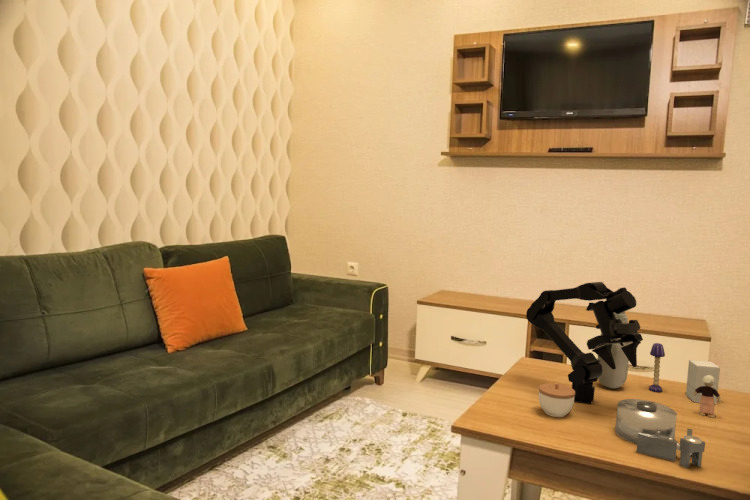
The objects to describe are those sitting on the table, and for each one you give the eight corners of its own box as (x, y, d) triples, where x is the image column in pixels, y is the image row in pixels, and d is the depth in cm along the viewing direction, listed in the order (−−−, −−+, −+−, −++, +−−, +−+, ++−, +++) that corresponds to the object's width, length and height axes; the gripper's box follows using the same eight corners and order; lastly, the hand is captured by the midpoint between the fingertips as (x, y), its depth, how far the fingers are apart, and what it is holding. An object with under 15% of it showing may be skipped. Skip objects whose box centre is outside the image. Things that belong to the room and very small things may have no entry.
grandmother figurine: (718, 414, 174) (722, 375, 172) (720, 419, 170) (724, 379, 169) (690, 410, 177) (694, 371, 176) (691, 414, 173) (695, 375, 172)
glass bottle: (592, 381, 202) (598, 306, 199) (621, 383, 201) (627, 307, 198) (599, 390, 192) (605, 311, 190) (630, 393, 191) (636, 313, 188)
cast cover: (614, 440, 153) (616, 408, 152) (616, 421, 166) (618, 391, 165) (675, 452, 146) (678, 419, 145) (672, 432, 160) (675, 401, 159)
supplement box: (717, 404, 183) (720, 367, 181) (692, 402, 184) (696, 365, 183) (708, 397, 190) (712, 361, 189) (685, 394, 191) (688, 359, 190)
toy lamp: (656, 393, 192) (660, 346, 190) (644, 388, 196) (648, 343, 194) (665, 391, 194) (669, 345, 192) (652, 387, 198) (656, 341, 196)
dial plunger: (666, 446, 145) (666, 437, 145) (673, 445, 146) (674, 437, 146) (686, 459, 139) (687, 449, 138) (694, 458, 139) (695, 449, 139)
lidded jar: (579, 413, 171) (581, 384, 170) (564, 423, 163) (566, 392, 162) (546, 404, 178) (548, 375, 177) (530, 412, 170) (532, 383, 169)
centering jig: (634, 450, 146) (636, 425, 146) (688, 445, 150) (690, 421, 150) (667, 472, 135) (669, 444, 134) (724, 466, 139) (727, 439, 139)
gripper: (604, 311, 164) (624, 363, 157) (646, 309, 172) (667, 358, 166) (578, 324, 172) (595, 373, 166) (619, 321, 181) (637, 368, 175)
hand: (624, 367), depth 168 cm, fingers open, 9 cm apart
